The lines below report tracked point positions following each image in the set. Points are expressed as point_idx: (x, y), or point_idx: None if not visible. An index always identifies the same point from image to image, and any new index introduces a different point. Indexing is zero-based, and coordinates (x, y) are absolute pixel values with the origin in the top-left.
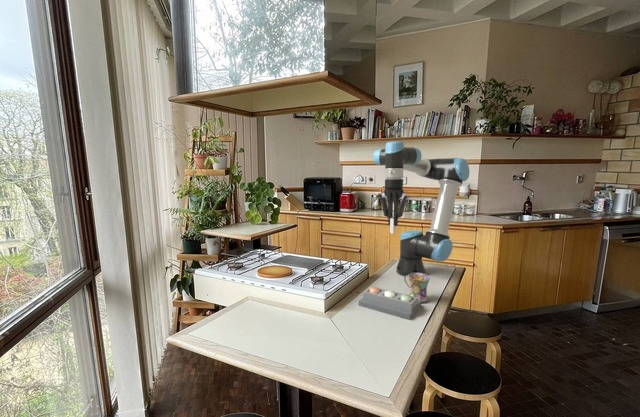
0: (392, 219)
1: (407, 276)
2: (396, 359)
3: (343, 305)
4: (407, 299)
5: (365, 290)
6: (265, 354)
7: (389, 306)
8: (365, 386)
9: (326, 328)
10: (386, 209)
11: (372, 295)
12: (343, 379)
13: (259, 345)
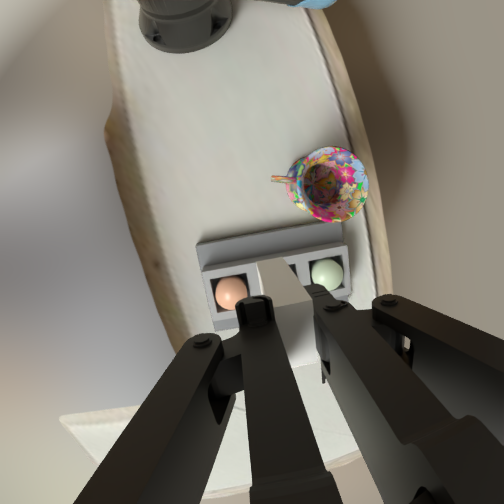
0: (305, 360)
1: (287, 182)
2: None
3: None
4: (337, 286)
5: (211, 310)
6: (230, 484)
7: None
8: (356, 447)
9: (238, 423)
10: (211, 424)
11: None
12: (332, 457)
13: (208, 481)
